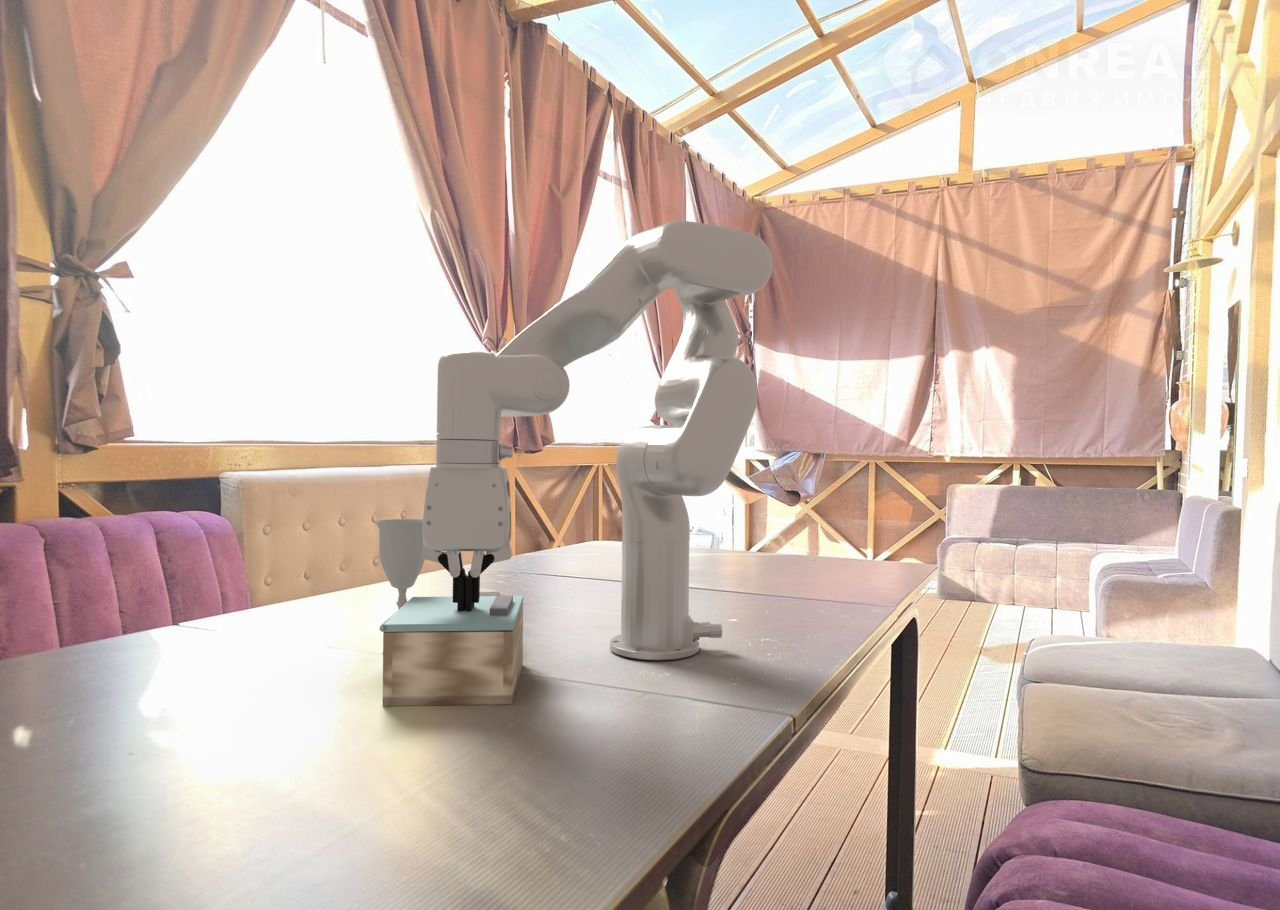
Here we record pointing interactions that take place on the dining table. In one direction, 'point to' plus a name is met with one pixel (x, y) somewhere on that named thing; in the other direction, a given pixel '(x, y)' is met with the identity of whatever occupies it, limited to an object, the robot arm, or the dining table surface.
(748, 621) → the dining table surface
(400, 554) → the chalice
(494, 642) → the chest
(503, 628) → the lid
